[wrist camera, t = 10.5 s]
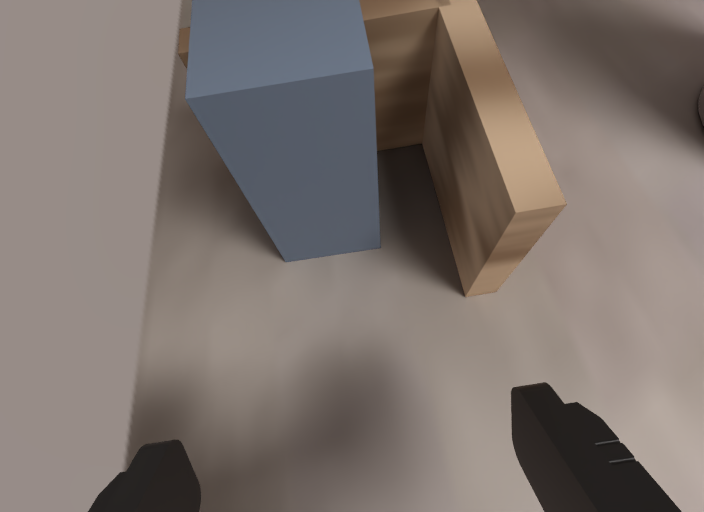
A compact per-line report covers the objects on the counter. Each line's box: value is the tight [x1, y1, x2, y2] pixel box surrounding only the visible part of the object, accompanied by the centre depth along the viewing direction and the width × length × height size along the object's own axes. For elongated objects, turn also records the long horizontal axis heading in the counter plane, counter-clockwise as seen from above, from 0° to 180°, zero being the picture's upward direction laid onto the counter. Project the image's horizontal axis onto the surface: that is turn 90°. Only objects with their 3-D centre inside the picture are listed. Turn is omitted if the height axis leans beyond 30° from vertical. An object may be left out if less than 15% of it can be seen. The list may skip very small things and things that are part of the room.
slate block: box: [185, 0, 381, 262], centre depth 16 cm, size 5×5×11 cm
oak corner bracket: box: [178, 0, 567, 297], centre depth 17 cm, size 11×12×8 cm
